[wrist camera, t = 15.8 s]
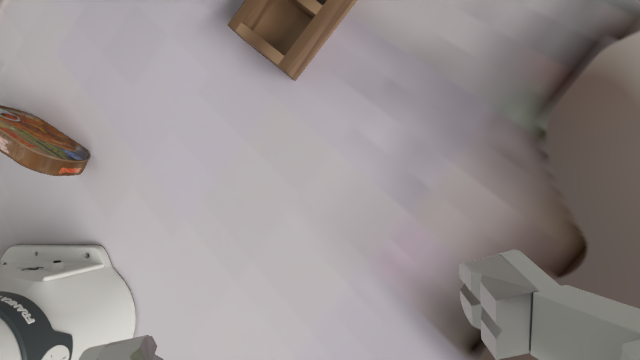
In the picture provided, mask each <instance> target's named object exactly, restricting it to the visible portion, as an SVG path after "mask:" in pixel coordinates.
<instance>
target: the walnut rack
mask: <svg viewBox="0 0 640 360" xmlns="http://www.w3.org/2000/svg"><path fill="white" fill-rule="evenodd" d="M356 1H357V0H327V1H326V2H325V3H324V5H321V4H320V3H319V2H317V1H316V0H245V2H244V3H243V5H242V6H241V7H240V9H239V10H238V11H237V13H236V14H235V16H234V17H233V18H232V20H231V21H230V22H229V24H228V26H229V27H230V28H231V29H232V30H233V31H234V32H236V33H237V34H238V35H239V36H240V37H241V38H242V39H243V40H244V41H246V42H247V43H248V44H249V45H251V46H252V47H253V48H254V49H256V50H257V51H258V52H259V53H261V54H262V55H263V56H264V57H266V58H267V59H268V60H270V61H271V62H272V63H273V64H275V65H276V66H277V67H278V68H280V69H281V70H282V71H283V72H285V73H286V74H287V75H288V76H290V77H291V78H292V79H293V80H296V79H297V78H298V77H299V75H300V74H301V73H302V71H303V70H304V69H305V67H306V66H307V65H308V64H309V62H310V61H311V60H312V58H313V57H314V56H315V54H316V53H317V52H318V51H319V49H320V48H321V47H322V45H323V44H324V43H325V41H326V40H327V39H328V38H329V36H330V35H331V34H332V32H333V31H334V30H335V28H336V27H337V26H338V25H339V23H340V22H341V21H342V19H343V18H344V17H345V15H346V14H347V13H348V12H349V10H350V9H351V8H352V6H353V5H354V4H355V2H356Z"/></svg>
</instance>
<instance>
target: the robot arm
mask: <svg viewBox="0 0 640 360" xmlns="http://www.w3.org/2000/svg"><path fill="white" fill-rule="evenodd" d="M88 253H89V256H88ZM459 277H460V278H461V279H462V280H463V282H464V284H463V286H462V287H461V289H460V297H461V303H462V306H463V310H464V312H465V314H466V316H467V318H468V320H469V321H470V323H471V324H472V326H474V327H476V328H478V329H480V330H481V338H482V340H483V342H484V343H485V345H486V346H487V347H488V349H489V350H490V352H491V353H492V355H493V356H494V357H495V359H496V360H498V359H503V358H508V357H512V356H517V355H522V354H526V353H531V355H532V356H534V357H536V358H537V359H539V360H640V309H638V308H635V307H632V306H629V305H626V304H623V303H620V302H617V301H614V300H610V299H608V298H605V297H601V296H599V295H596V294H592V293H590V292H586V291H583V290H580V289H577V288H574V287H571V286H568V285H564V286H560V285H559V284H557V283H556V282H555V281H554V280H553V279H552V278H551V277H549V276H548V275H547V274H546V273H545V272H544V271H542V270H541V269H540V268H539V267H538V266H537V265H536V264H534V263H533V262H532V261H531V260H530V259H529V258H527V257H526V256H525V255H524V254H523V253H522V252H521V251H519V250H516V249H515V250H511V251H507V252H503V253H499V254H497V255H493V256H489V257H485V258H480V259H476V260H472V261H468V262H464V263H460V266H459ZM135 321H136V315H135V307H134V302H133V299H132V296H131V293H130V291H129V289H128V287H127V285H126V284H125V282H124V281H123V279H122V278H121V277H120V276H119V275H118V274H117V272H116V271H115V270H114V269H113V267H112V265H111V262H110V260H109V257H108V255H107V252H106V251H105V249H104V248H103V247H102V246H98V245H16V246H13V247H10V248H8V250H7V251H6V252H5V253H4V255H3V256H2V258H1V260H0V360H163V359H162V358H160V357H159V356H157V355H155V351H156V348H157V345H156V343H155V341H154V339H153V337H152V336H149V335H146V336H141V337H136V338H132V337H133V334H134V330H135Z"/></svg>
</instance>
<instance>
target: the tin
mask: <svg viewBox="0 0 640 360" xmlns="http://www.w3.org/2000/svg"><path fill="white" fill-rule="evenodd" d="M0 151H1V152H2V153H4V154H5V155H7V156H8V157H10V158H11V159H13V160H14V161H16V162H17V163H19V164H20V165H22V166H24V167H26V168H29V169H31V170H34V171H37V172H40V173H44V174H48V175H53V176H71V175H79V174H81V173H82V172H83V170H84V168H85V166H86V164H87V162H88V160H89V159H90V157H91V156H90V153H89V152H88V150H87V149H85V148H84V147H83V146H81V145H80V144H78V143H77V142H75V141H74V140H72V139H71V138H69V137H67V136H66V135H64V134H63V133H61V132H60V131H58V130H57V129H55V128H54V127H52V126H51V125H49V124H48V123H46V122H45V121H43V120H41V119H39V118H37V117H35V116H33V115H31V114H28V113H26V112H23V111H20V110H17V109H13V108H9V107H5V106H1V105H0Z"/></svg>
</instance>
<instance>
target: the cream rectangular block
mask: <svg viewBox="0 0 640 360" xmlns="http://www.w3.org/2000/svg"><path fill="white" fill-rule="evenodd" d="M316 1H317V2H319V3H320V4H321V5H324V3H325V2H326V1H327V0H316Z"/></svg>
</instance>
